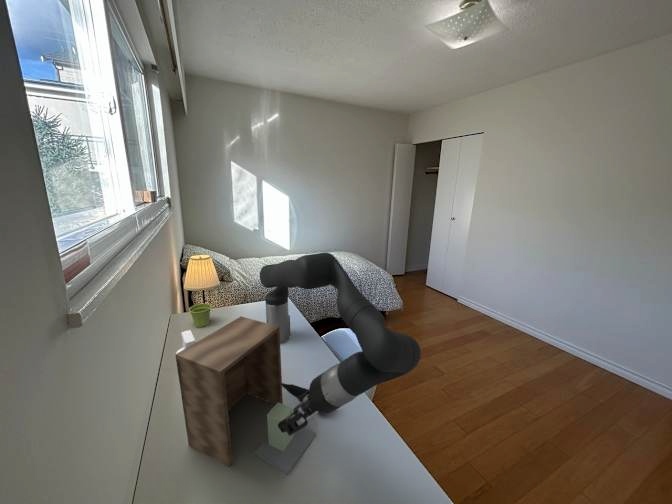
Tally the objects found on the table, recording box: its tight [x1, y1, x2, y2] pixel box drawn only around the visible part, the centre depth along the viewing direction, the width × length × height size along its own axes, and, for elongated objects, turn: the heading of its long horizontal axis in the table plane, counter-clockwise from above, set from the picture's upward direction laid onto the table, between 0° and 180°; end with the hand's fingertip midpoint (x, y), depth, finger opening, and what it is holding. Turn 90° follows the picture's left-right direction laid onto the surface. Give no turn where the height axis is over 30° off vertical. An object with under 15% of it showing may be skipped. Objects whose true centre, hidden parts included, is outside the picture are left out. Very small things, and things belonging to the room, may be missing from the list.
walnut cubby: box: [175, 316, 284, 468], centre depth 72 cm, size 14×21×26 cm, turn 156°
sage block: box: [266, 402, 294, 452], centre depth 69 cm, size 4×4×9 cm
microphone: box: [282, 382, 309, 398], centre depth 84 cm, size 6×6×20 cm
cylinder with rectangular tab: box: [175, 329, 196, 354], centre depth 98 cm, size 9×9×12 cm
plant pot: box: [188, 302, 212, 328], centre depth 127 cm, size 9×9×9 cm
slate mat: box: [254, 426, 317, 476], centre depth 69 cm, size 12×10×1 cm
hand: (291, 413), depth 64 cm, fingers open, 8 cm apart
